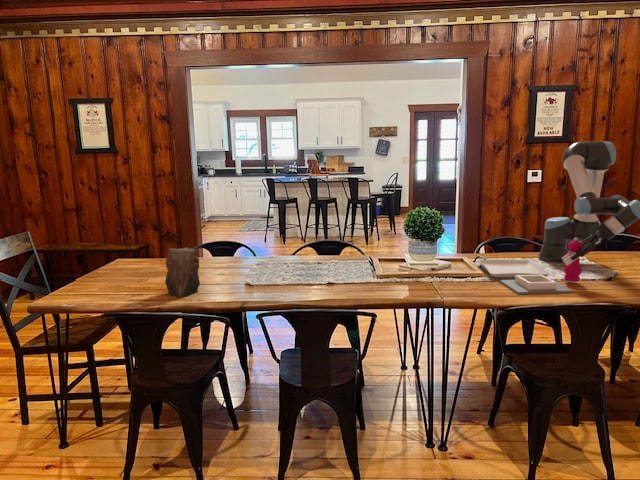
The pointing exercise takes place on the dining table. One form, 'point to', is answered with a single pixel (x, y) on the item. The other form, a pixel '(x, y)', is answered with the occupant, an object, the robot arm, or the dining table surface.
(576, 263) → the pepper mill
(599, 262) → the dining table surface
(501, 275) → the square plate
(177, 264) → the owl
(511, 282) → the caddy
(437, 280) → the dining table surface
